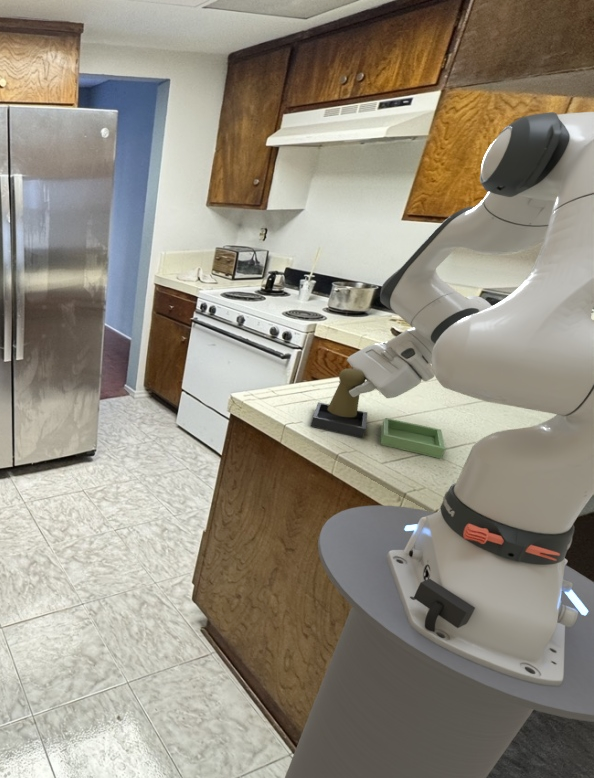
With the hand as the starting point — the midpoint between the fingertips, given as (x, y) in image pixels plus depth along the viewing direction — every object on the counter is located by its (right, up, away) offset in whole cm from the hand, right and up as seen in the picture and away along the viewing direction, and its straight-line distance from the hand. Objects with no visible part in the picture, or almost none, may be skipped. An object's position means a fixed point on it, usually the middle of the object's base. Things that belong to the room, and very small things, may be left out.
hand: (345, 389), depth 113 cm
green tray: (+11, -12, -5) cm, 17 cm away
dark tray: (+1, -9, +4) cm, 9 cm away
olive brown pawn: (+1, -6, +2) cm, 6 cm away
